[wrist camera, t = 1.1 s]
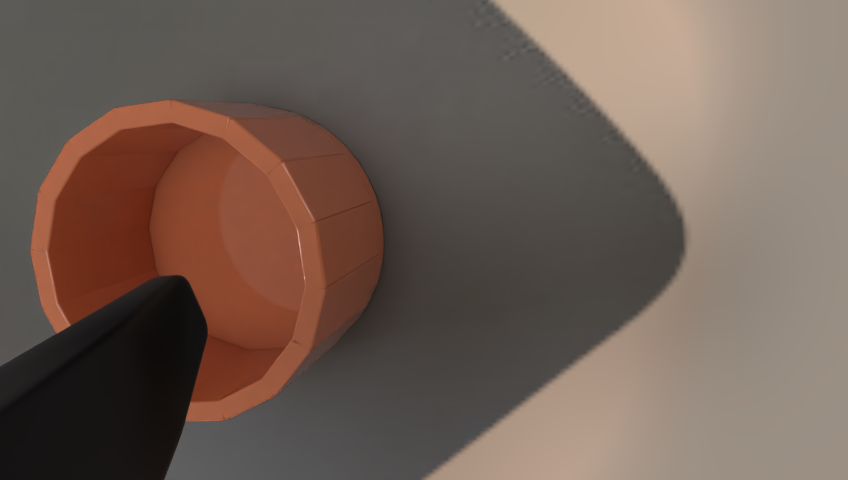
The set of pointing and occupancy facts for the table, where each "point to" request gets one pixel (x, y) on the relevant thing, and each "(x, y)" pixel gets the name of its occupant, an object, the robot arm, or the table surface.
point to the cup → (215, 235)
